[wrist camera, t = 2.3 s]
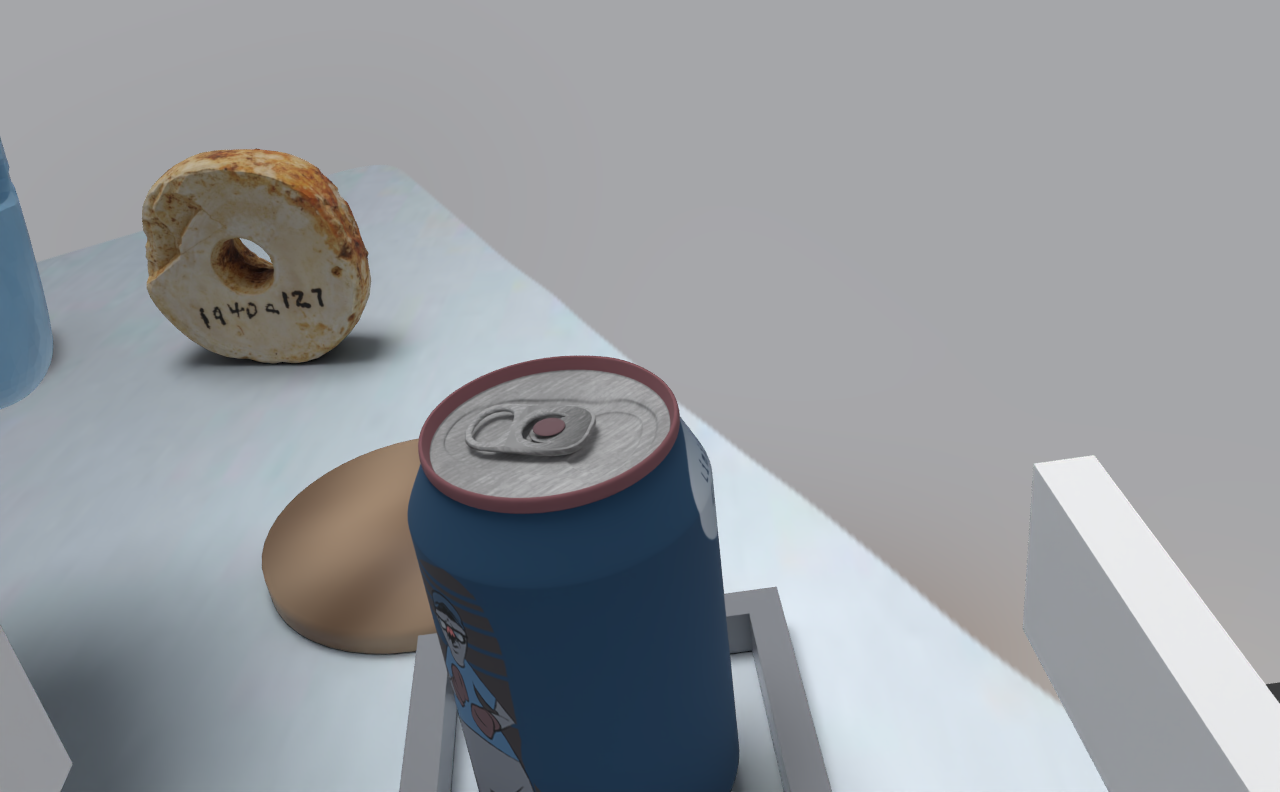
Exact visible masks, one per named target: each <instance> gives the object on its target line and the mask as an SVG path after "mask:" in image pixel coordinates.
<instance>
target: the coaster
mask: <svg viewBox="0 0 1280 792" xmlns="http://www.w3.org/2000/svg"><path fill="white" fill-rule="evenodd" d="M418 441H419V439H414V440H409V441H405V442H401V443H397V444H393V445H390V446H387V447H384V448H380V449H377V450H375V451H372V452H369V453H367V454H364V455H362V456H359V457H357V458H355V459H353V460H351V461H348V462H346V463H344V464H342V465H340V466H339V467H337V468H335V469H333V470H332V471H330V472H328V473H326V474H325V475H323V476H322V477H320V478H319V479H317V480H316V481H314V482H313V483H312V484H310V485H309V486H308V487H307V488H305V489H304V490H303V491H302V492H300V493H299V494H298V495H297V496H296V497H295V498H294V499H293V500H292V501H291V502H290V503H289V504H288V505H287V506H286V507H285V509H284V510H283V511H282V512H281V514H280V515H279V516H278V517H277V519H276V521H275V522H274V524H273V526H272V527H271V529H270V531H269V533H268V536H267V538H266V540H265V543H264V548H263V553H262V570H263V574H264V578H265V582H266V584H267V587H268V590H269V593H270V595H271V598H272V601H273V603H274V605H275V607H276V609H277V611H278V613H279V615H280V616H281V617H282V618H283V619H284V621H285V622H286V623H287V624H288V625H289V626H290V627H292V628H293V629H294V630H295V631H296V632H298V633H299V634H301V635H303V636H304V637H306V638H308V639H310V640H312V641H314V642H317V643H319V644H322V645H325V646H327V647H331V648H335V649H339V650H344V651H349V652H358V653H367V654H391V653H402V652H412V651H416V650H417V641H418V636H419V635H426V634H434V633H437V631H436V628H435V624H434V620H433V616H432V613H431V609H430V605H429V601H428V598H427V594H426V590H425V586H424V583H423V579H422V575H421V571H420V568H419V564H418V560H417V556H416V553H415V549H414V545H413V541H412V538H411V534H410V530H409V525H408V514H407V513H408V504H409V499H410V495H411V491H412V488H413V485H414V482H415V479H416V476H417V473H418V470H419V467H420V464H421V463H420V459H419V454H418Z"/></svg>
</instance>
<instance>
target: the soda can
mask: <svg viewBox="0 0 1280 792" xmlns="http://www.w3.org/2000/svg"><path fill="white" fill-rule="evenodd" d="M418 454H419V459H420V463H421V464H420V467H419V470H418V473H417V476H416V479H415V482H414V485H413V488H412V491H411V495H410V499H409V504H408V513H407V514H408V525H409V530H410V534H411V538H412V541H413V545H414V549H415V553H416V556H417V560H418V564H419V568H420V571H421V575H422V579H423V583H424V586H425V590H426V594H427V598H428V601H429V605H430V609H431V613H432V616H433V620H434V624H435V628H436V631H437V635H438V639H439V643H440V646H441V650H442V654H443V658H444V661H445V665H446V669H447V673H448V676H449V680H450V684H451V688H452V691H453V695H454V699H455V703H456V707H457V710H458V714H459V718H460V722H461V725H462V729H463V733H464V737H465V740H466V744H467V748H468V752H469V755H470V759H471V763H472V767H473V770H474V774H475V778H476V782H477V785H478V789H479V792H730V791H731V789H732V786H733V784H734V781H735V777H736V774H737V769H738V762H739V742H738V732H737V722H736V712H735V702H734V691H733V681H732V671H731V661H730V650H729V640H728V630H727V620H726V610H725V599H724V589H723V579H722V569H721V558H720V548H719V538H718V528H717V517H716V507H715V497H714V487H713V477H712V469H711V464H710V461H709V458H708V456H707V454H706V452H705V450H704V448H703V447H702V445H701V443H700V442H699V441H698V439H697V438H696V437H695V435H694V434H693V433H692V431H691V430H690V429H689V427H688V426H687V425H686V424H685V422H684V421H683V420H682V419H681V417H680V414H679V408H678V404H677V401H676V398H675V396H674V394H673V392H672V391H671V389H670V388H669V387H668V386H667V384H665V382H664V381H663V380H661V379H660V378H659V377H657V376H656V375H655V374H653V373H651V372H650V371H648V370H646V369H644V368H642V367H640V366H638V365H636V364H633V363H630V362H627V361H624V360H620V359H616V358H610V357H601V356H560V357H550V358H543V359H536V360H531V361H526V362H522V363H518V364H514V365H511V366H508V367H504V368H501V369H499V370H496V371H493V372H491V373H488V374H486V375H483V376H481V377H479V378H477V379H475V380H473V381H471V382H469V383H467V384H466V385H464V386H462V387H461V388H459V389H458V390H456V391H455V392H453V393H452V394H451V395H449V396H448V397H447V398H446V399H444V400H443V401H442V402H441V403H440V404H439V405H438V406H437V407H436V408H435V409H434V410H433V411H432V413H431V414H430V415H429V417H428V418H427V420H426V421H425V423H424V425H423V427H422V430H421V432H420V436H419V441H418Z"/></svg>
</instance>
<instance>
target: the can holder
mask: <svg viewBox="0 0 1280 792" xmlns="http://www.w3.org/2000/svg"><path fill="white" fill-rule="evenodd" d="M724 599H725V610H726V620H727V630H728V640H729V650H730V653H736V652H744V651H751V650H752V652H753V656H754V660H755V665H756V669H757V674H758V678H759V682H760V687H761V691H762V696H763V700H764V704H765V709H766V713H767V718H768V722H769V727H770V731H771V735H772V740H773V744H774V749H775V753H776V757H777V762H778V766H779V771H780V775H781V779H782V784H783V788H784V792H832V790H831V787H830V783H829V779H828V775H827V772H826V768H825V764H824V761H823V757H822V753H821V750H820V746H819V742H818V738H817V735H816V731H815V727H814V724H813V720H812V716H811V712H810V709H809V705H808V701H807V698H806V694H805V690H804V687H803V683H802V679H801V675H800V672H799V668H798V664H797V661H796V657H795V653H794V649H793V646H792V642H791V638H790V635H789V631H788V627H787V624H786V620H785V616H784V612H783V609H782V605H781V601H780V598H779V594H778V590H777V587H771V588H764V589H757V590H749V591H742V592H735V593H727V594H724ZM456 716H457V707H456V703H455V699H454V695H453V691H452V688H451V684H450V680H449V676H448V673H447V669H446V665H445V661H444V658H443V654H442V650H441V646H440V643H439V639H438V635H437V633H434V634H426V635H419V636H418V641H417V650H416V658H415V666H414V674H413V683H412V691H411V699H410V707H409V716H408V724H407V732H406V740H405V749H404V757H403V765H402V773H401V782H400V790H399V792H451V783H452V770H453V757H454V743H455V730H456Z"/></svg>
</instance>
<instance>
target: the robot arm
mask: <svg viewBox="0 0 1280 792" xmlns="http://www.w3.org/2000/svg"><path fill="white" fill-rule="evenodd" d="M52 354H53V336H52V330H51V324H50V319H49V314H48V309H47V304H46V300H45V296H44V291H43V287H42V283H41V279H40V275H39V272H38V268H37V264H36V260H35V257H34V253H33V249H32V245H31V241H30V237H29V234H28V230H27V227H26V223H25V220H24V217H23V213H22V210H21V206H20V203H19V200H18V197H17V193H16V191H15V187H14V185H13V184H12V182H11V179H10V176H9V165H8V162H7V159H6V155H5V152H4V148H3V145H2V142H1V138H0V409H2V408H5V407H8V406H10V405H12V404H15V403H16V402H18V401H20V400H22V399H23V398H25V397H26V396H28V395H29V394H30V393H31V392H32V391H33V390H34V389H35V388H36V387H37V386H38V385H39V384H40V382H41V381H42V380H43V378H44V376H45V375H46V373H47V370H48V368H49V366H50V363H51V359H52ZM1023 630H1024V632H1025V634H1026V636H1027V638H1028V640H1029V642H1030V644H1031V646H1032V647H1033V649H1034V651H1035V653H1036V655H1037V657H1038V659H1039V661H1040V663H1041V665H1042V666H1043V668H1044V670H1045V672H1046V674H1047V676H1048V678H1049V680H1050V682H1051V683H1052V685H1053V687H1054V689H1055V691H1056V693H1057V695H1058V697H1059V699H1060V701H1061V702H1062V704H1063V706H1064V708H1065V710H1066V712H1067V714H1068V716H1069V718H1070V719H1071V721H1072V723H1073V725H1074V727H1075V729H1076V731H1077V733H1078V735H1079V736H1080V738H1081V740H1082V742H1083V744H1084V746H1085V748H1086V750H1087V752H1088V753H1089V755H1090V757H1091V759H1092V761H1093V763H1094V765H1095V767H1096V769H1097V771H1098V772H1099V774H1100V776H1101V778H1102V780H1103V782H1104V784H1105V786H1106V788H1107V789H1108V791H1109V792H1280V683H1273V684H1266V685H1265V683H1264V682H1263V681H1262V679H1261V678H1260V677H1259V675H1258V674H1257V673H1256V671H1255V670H1254V669H1253V668H1252V666H1251V665H1250V663H1249V662H1248V661H1247V659H1246V658H1245V657H1244V655H1243V654H1242V653H1241V651H1240V650H1239V649H1238V647H1237V646H1236V645H1235V643H1234V642H1233V641H1232V639H1231V638H1230V636H1229V635H1228V634H1227V633H1226V631H1225V630H1224V628H1223V627H1222V626H1221V624H1220V623H1219V622H1218V620H1217V619H1216V618H1215V616H1214V615H1213V614H1212V612H1211V611H1210V610H1209V609H1208V607H1207V606H1206V604H1205V603H1204V602H1203V600H1202V599H1201V598H1200V596H1199V595H1198V594H1197V593H1196V591H1195V590H1194V588H1193V587H1192V586H1191V584H1190V583H1189V582H1188V580H1187V579H1186V578H1185V576H1184V575H1183V574H1182V572H1181V571H1180V570H1179V568H1178V567H1177V566H1176V564H1175V563H1174V562H1173V560H1172V559H1171V558H1170V556H1169V555H1168V554H1167V552H1166V551H1165V550H1164V548H1163V547H1162V545H1161V544H1160V543H1159V541H1158V540H1157V539H1156V538H1155V536H1154V535H1153V533H1152V532H1151V531H1150V529H1149V528H1148V527H1147V525H1146V524H1145V523H1144V521H1143V520H1142V519H1141V518H1140V516H1139V515H1138V514H1137V512H1136V511H1135V509H1134V508H1133V507H1132V505H1131V504H1130V503H1129V501H1128V500H1127V499H1126V497H1125V496H1124V495H1123V493H1122V492H1121V491H1120V489H1119V488H1118V487H1117V485H1116V484H1115V483H1114V481H1113V480H1112V479H1111V478H1110V476H1109V475H1108V473H1107V472H1106V471H1105V469H1104V468H1103V466H1102V465H1101V464H1100V463H1099V461H1098V460H1097V459H1096V457H1095V456H1094V455H1092V456H1085V457H1079V458H1071V459H1064V460H1057V461H1050V462H1043V463H1036V464H1034V467H1033V482H1032V497H1031V512H1030V528H1029V543H1028V558H1027V574H1026V589H1025V603H1024V619H1023ZM72 765H73V763H72V761H71V759H70V757H69V755H68V753H67V752H66V750H65V748H64V746H63V744H62V742H61V740H60V738H59V736H58V734H57V732H56V731H55V729H54V727H53V725H52V723H51V721H50V719H49V717H48V715H47V713H46V711H45V709H44V708H43V706H42V704H41V702H40V700H39V698H38V696H37V694H36V692H35V690H34V688H33V686H32V685H31V683H30V681H29V679H28V677H27V675H26V673H25V671H24V669H23V667H22V665H21V664H20V662H19V660H18V658H17V656H16V654H15V652H14V650H13V648H12V646H11V644H10V642H9V641H8V639H7V637H6V635H5V633H4V631H3V629H2V627H1V625H0V792H61V790H62V787H63V785H64V783H65V780H66V778H67V776H68V774H69V771H70V769H71V767H72Z"/></svg>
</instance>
